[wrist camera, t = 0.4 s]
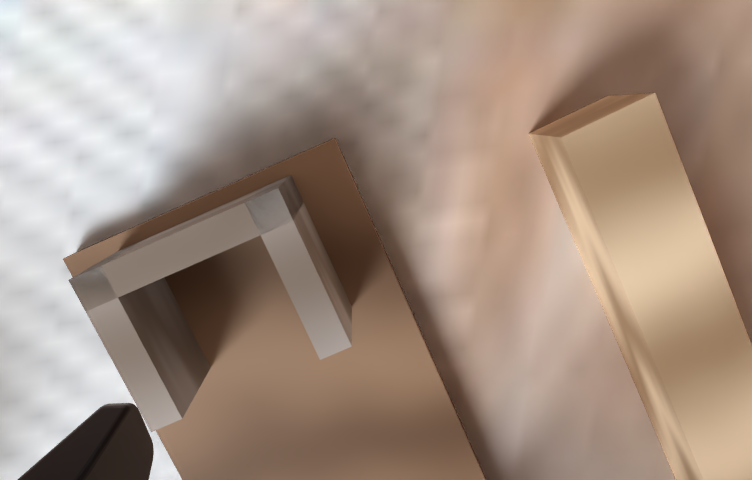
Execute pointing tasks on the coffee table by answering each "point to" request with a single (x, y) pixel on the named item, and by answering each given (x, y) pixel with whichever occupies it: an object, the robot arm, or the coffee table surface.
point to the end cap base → (274, 335)
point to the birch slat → (656, 279)
